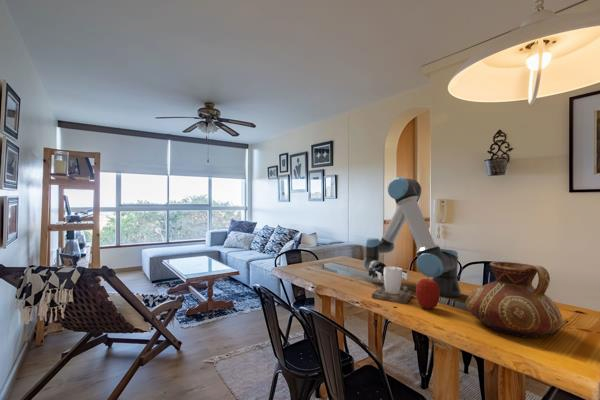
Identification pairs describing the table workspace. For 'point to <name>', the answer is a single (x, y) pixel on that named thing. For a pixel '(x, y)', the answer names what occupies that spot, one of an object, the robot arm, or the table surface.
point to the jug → (516, 301)
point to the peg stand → (392, 295)
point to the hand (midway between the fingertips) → (394, 277)
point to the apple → (427, 293)
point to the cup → (392, 279)
